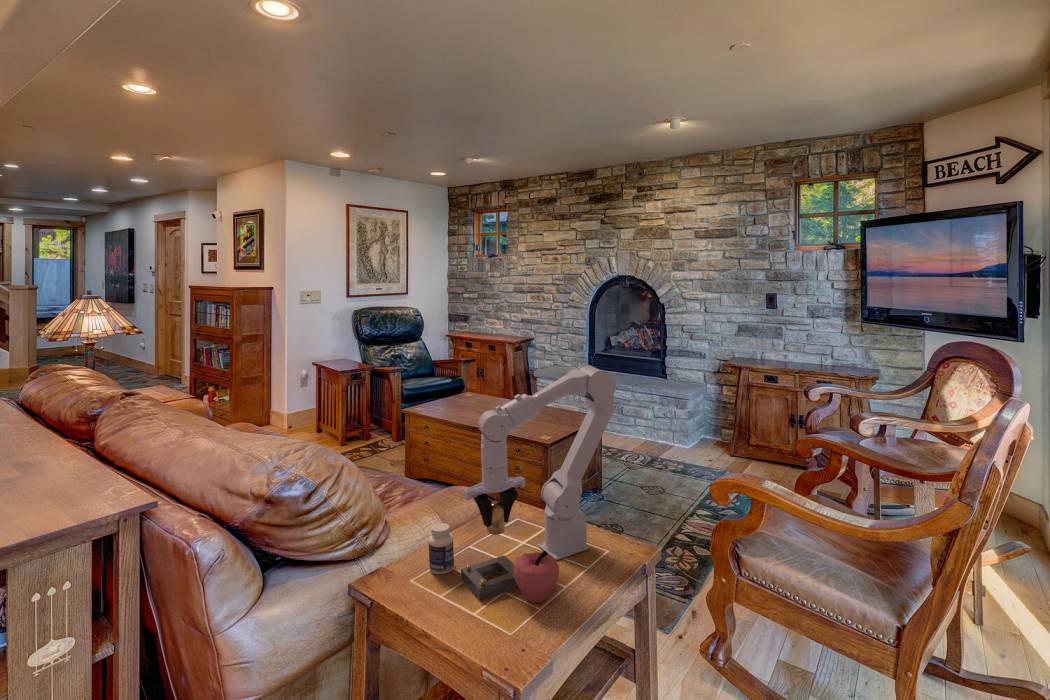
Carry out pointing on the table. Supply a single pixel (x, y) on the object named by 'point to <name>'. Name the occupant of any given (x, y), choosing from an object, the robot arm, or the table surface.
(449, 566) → the pill bottle
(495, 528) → the brass cylinder
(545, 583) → the apple
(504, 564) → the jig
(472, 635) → the table surface
